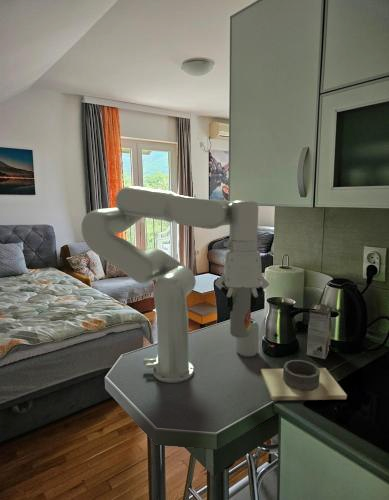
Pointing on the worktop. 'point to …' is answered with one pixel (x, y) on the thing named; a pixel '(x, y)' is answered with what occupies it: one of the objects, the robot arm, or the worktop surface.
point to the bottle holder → (301, 382)
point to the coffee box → (319, 330)
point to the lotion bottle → (240, 312)
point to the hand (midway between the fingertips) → (241, 308)
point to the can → (249, 341)
